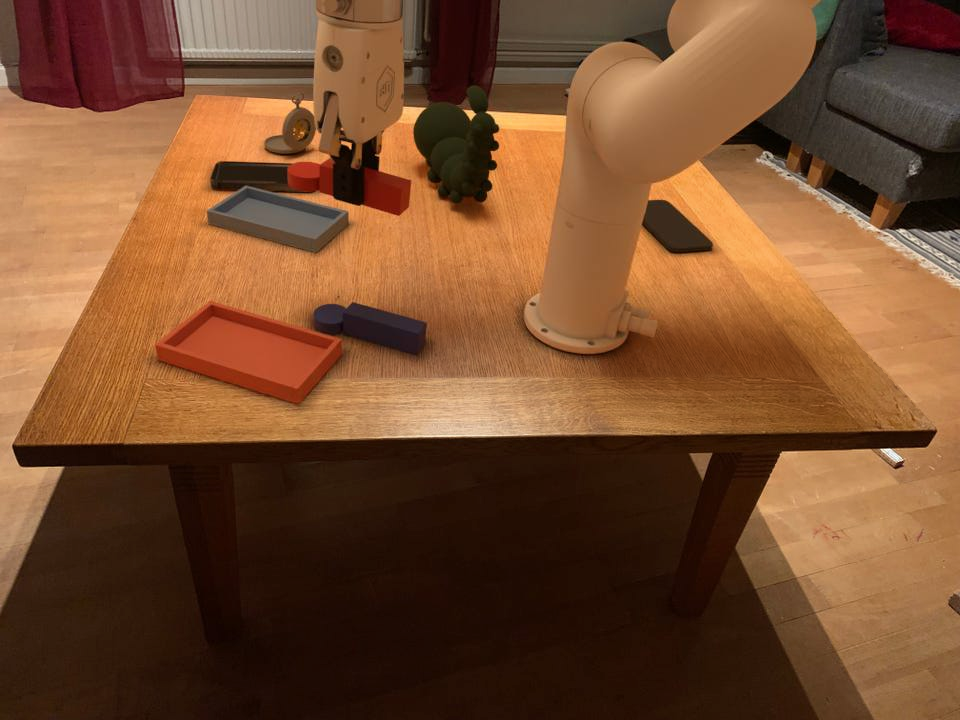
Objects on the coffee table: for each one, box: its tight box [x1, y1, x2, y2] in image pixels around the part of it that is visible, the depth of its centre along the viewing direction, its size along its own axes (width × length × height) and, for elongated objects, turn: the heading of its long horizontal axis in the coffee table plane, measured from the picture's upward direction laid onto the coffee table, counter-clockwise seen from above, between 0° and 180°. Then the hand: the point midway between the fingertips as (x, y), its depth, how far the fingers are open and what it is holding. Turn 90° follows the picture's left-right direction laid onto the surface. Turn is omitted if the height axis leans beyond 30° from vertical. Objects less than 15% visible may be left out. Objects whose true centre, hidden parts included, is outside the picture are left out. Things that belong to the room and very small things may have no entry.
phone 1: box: [209, 160, 314, 193], centre depth 111 cm, size 8×1×15 cm
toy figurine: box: [412, 85, 500, 205], centre depth 111 cm, size 9×19×25 cm
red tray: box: [154, 300, 343, 405], centre depth 77 cm, size 16×9×2 cm, turn 71°
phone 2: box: [642, 199, 714, 253], centre depth 111 cm, size 7×1×15 cm
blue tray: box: [206, 186, 350, 254], centre depth 100 cm, size 16×9×2 cm, turn 71°
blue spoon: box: [312, 301, 428, 356], centre depth 82 cm, size 13×4×3 cm, turn 71°
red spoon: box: [287, 157, 412, 217], centre depth 75 cm, size 13×4×3 cm, turn 70°
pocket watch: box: [263, 92, 317, 155], centre depth 118 cm, size 8×8×10 cm
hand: (355, 194), depth 75 cm, fingers closed on red spoon, 2 cm apart
